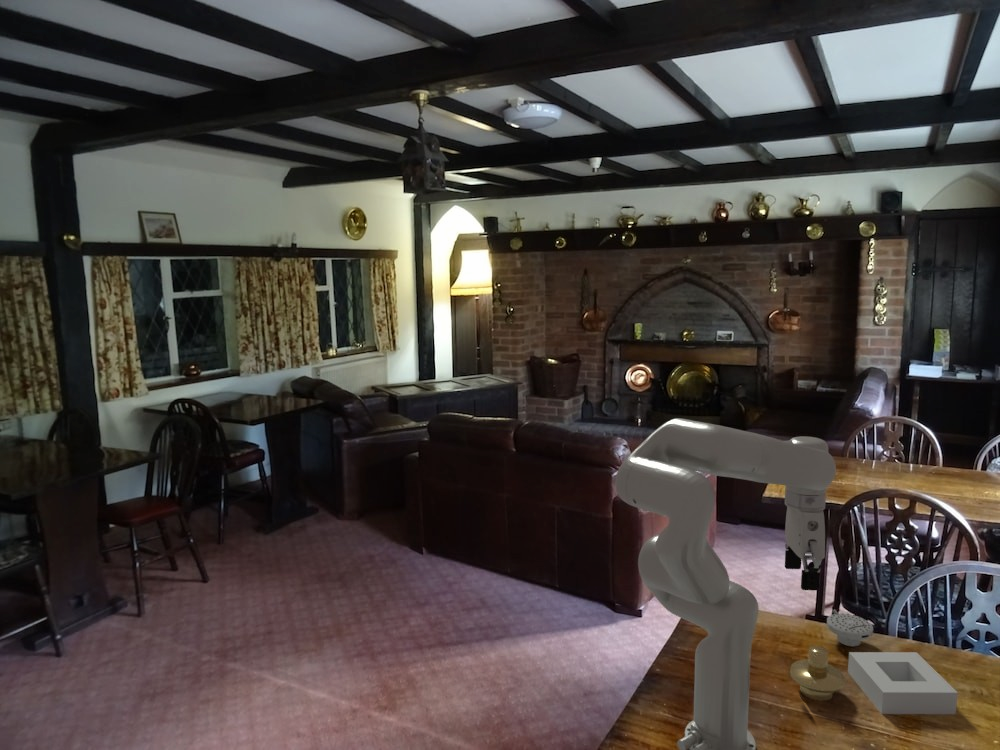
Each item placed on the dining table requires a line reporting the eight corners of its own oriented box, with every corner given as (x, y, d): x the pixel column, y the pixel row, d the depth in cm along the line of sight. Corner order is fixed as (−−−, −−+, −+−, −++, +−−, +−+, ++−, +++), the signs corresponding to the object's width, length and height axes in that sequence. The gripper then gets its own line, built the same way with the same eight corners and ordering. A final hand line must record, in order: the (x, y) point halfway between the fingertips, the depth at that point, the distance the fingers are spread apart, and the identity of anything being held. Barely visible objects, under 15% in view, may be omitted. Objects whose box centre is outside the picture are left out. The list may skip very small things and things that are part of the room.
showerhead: (849, 605, 164) (883, 626, 154) (848, 634, 165) (881, 656, 155) (816, 611, 161) (848, 633, 152) (814, 640, 162) (846, 663, 153)
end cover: (800, 713, 136) (803, 664, 134) (781, 683, 146) (784, 637, 144) (852, 714, 136) (855, 664, 134) (829, 683, 146) (832, 637, 144)
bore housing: (881, 720, 134) (883, 692, 133) (847, 678, 147) (849, 652, 146) (955, 721, 133) (957, 692, 132) (914, 678, 147) (916, 652, 146)
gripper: (842, 513, 130) (836, 599, 133) (808, 485, 147) (804, 561, 150) (800, 513, 131) (796, 598, 133) (772, 485, 148) (769, 560, 151)
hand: (800, 578), depth 142 cm, fingers open, 9 cm apart
